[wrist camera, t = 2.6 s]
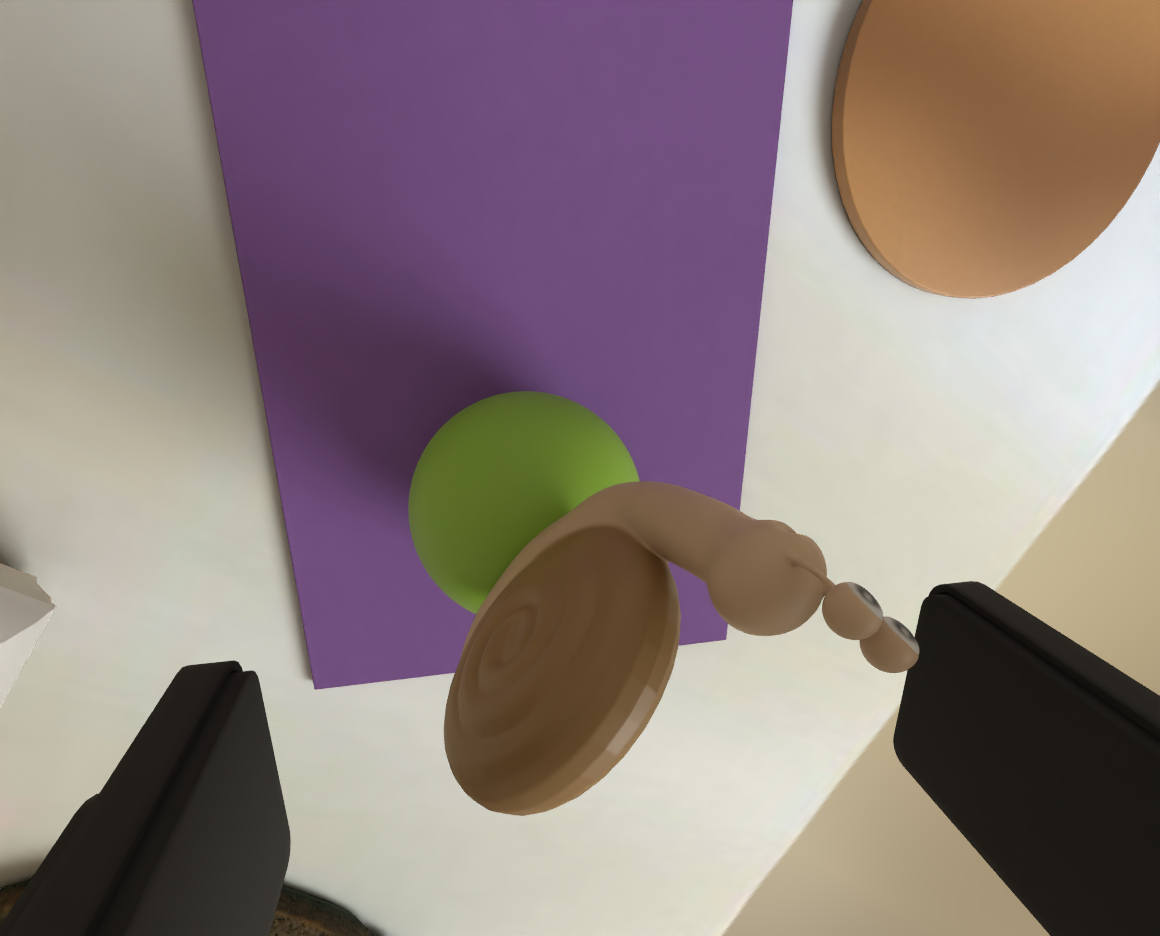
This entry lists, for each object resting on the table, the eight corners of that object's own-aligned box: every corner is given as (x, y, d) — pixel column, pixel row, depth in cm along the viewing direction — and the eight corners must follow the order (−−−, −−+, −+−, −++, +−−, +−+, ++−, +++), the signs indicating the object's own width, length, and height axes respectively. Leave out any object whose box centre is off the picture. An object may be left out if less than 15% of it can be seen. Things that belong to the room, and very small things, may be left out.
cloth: (163, -186, 12) (156, -196, 11) (798, -111, 14) (805, -118, 14) (316, 683, 19) (314, 690, 18) (722, 634, 21) (726, 640, 21)
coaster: (866, -160, 14) (880, -174, 14) (1219, -113, 16) (1242, -123, 15) (806, 299, 18) (816, 300, 17) (1101, 295, 19) (1116, 296, 19)
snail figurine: (673, 428, 18) (1041, 748, 7) (524, 586, 19) (637, 1100, 8) (531, 296, 16) (727, 445, 5) (371, 481, 17) (223, 973, 6)
